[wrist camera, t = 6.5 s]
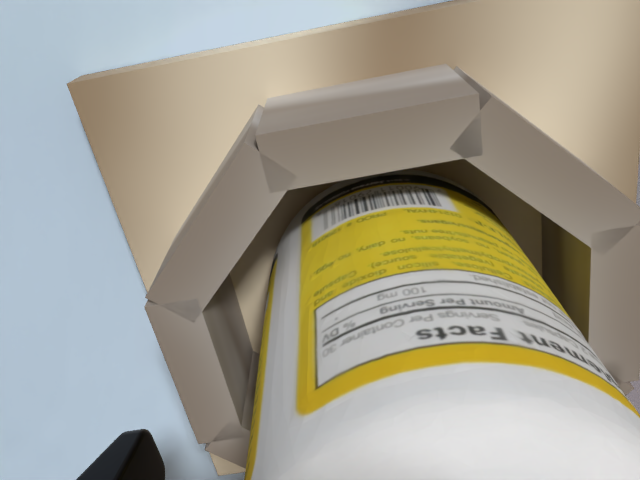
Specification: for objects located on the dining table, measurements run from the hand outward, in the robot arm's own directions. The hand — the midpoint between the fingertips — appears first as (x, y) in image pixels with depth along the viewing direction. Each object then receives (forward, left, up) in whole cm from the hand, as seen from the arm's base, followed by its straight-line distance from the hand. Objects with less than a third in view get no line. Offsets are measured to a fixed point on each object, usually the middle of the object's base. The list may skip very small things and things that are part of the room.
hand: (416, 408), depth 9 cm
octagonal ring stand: (0, 0, -5) cm, 5 cm away
